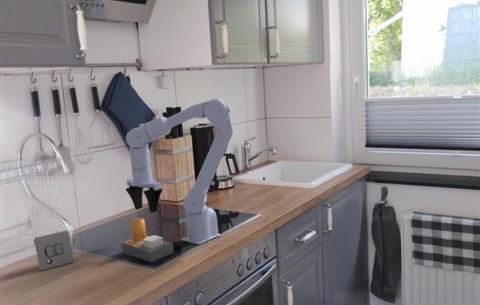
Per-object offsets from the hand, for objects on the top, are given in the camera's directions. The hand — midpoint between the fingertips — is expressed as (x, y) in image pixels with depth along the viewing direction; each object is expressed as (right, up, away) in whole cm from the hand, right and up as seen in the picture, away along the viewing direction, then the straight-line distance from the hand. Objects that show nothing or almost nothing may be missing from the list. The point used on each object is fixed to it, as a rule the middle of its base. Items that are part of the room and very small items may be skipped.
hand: (146, 210), depth 141 cm
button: (+4, -10, -10) cm, 15 cm away
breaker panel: (+2, -12, -7) cm, 14 cm away
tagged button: (0, -11, -5) cm, 12 cm away
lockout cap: (-1, -8, -6) cm, 10 cm away
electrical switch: (-24, -14, -11) cm, 30 cm away
